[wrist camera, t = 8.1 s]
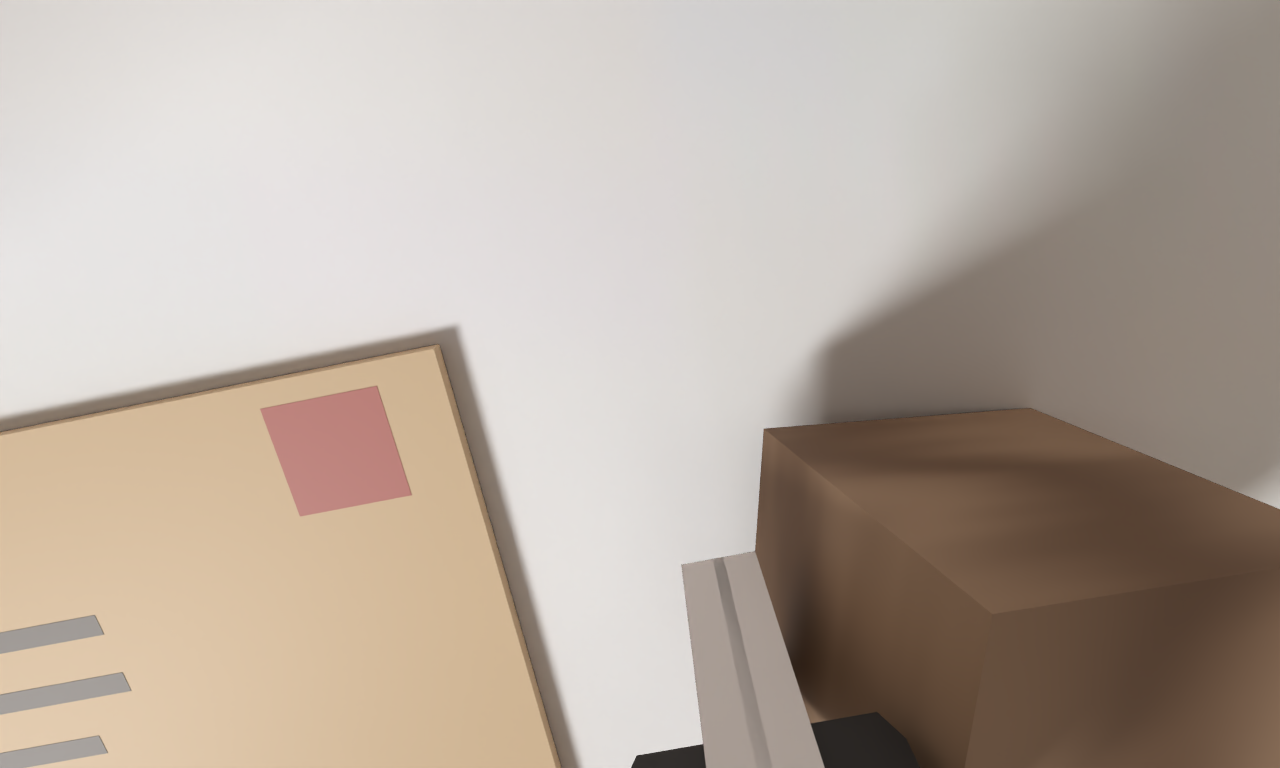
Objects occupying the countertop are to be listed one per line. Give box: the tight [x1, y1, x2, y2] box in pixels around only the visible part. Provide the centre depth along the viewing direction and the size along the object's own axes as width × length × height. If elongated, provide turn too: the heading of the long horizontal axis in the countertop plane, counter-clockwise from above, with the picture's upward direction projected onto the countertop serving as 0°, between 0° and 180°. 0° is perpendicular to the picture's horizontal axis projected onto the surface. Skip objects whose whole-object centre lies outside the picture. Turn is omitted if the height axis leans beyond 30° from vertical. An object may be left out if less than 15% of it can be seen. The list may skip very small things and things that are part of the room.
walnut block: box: [755, 408, 1280, 768], centre depth 12 cm, size 6×6×6 cm
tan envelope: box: [0, 344, 561, 768], centre depth 16 cm, size 16×12×1 cm
